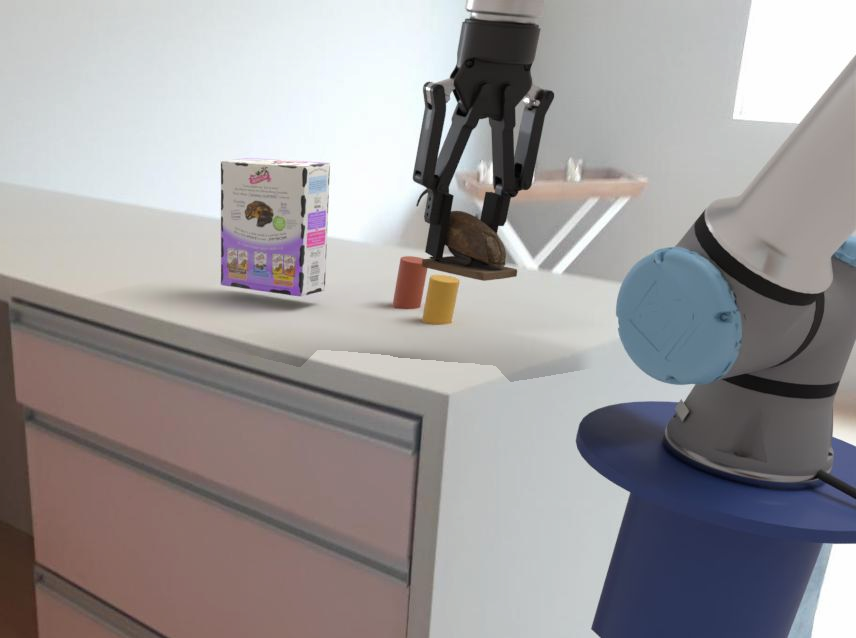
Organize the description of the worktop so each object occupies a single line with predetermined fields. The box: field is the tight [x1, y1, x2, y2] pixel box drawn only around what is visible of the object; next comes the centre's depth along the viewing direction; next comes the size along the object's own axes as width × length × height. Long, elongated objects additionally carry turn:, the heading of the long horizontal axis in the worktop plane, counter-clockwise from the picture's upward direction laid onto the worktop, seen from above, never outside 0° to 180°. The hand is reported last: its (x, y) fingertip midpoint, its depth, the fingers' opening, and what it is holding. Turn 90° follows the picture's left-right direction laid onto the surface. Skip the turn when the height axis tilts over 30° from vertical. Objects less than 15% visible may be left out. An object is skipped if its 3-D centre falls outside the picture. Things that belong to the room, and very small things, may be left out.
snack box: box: [220, 157, 331, 297], centre depth 151 cm, size 14×6×16 cm, turn 47°
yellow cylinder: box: [421, 274, 461, 325], centre depth 142 cm, size 4×4×7 cm
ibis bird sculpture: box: [415, 187, 518, 282], centre depth 122 cm, size 14×4×9 cm, turn 28°
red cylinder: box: [391, 255, 428, 310], centre depth 150 cm, size 4×4×7 cm
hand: (458, 255), depth 123 cm, fingers closed on ibis bird sculpture, 5 cm apart
